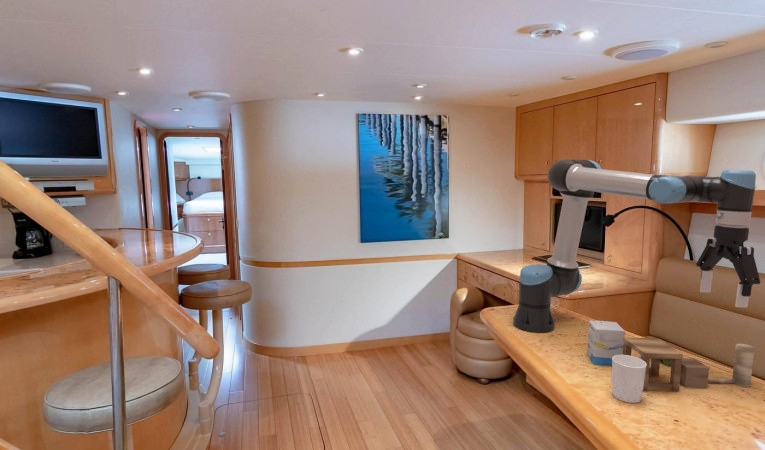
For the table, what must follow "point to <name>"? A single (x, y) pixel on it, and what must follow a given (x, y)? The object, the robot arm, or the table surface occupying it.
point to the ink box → (604, 342)
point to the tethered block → (697, 377)
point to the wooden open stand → (656, 361)
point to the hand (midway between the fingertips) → (722, 299)
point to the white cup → (628, 378)
